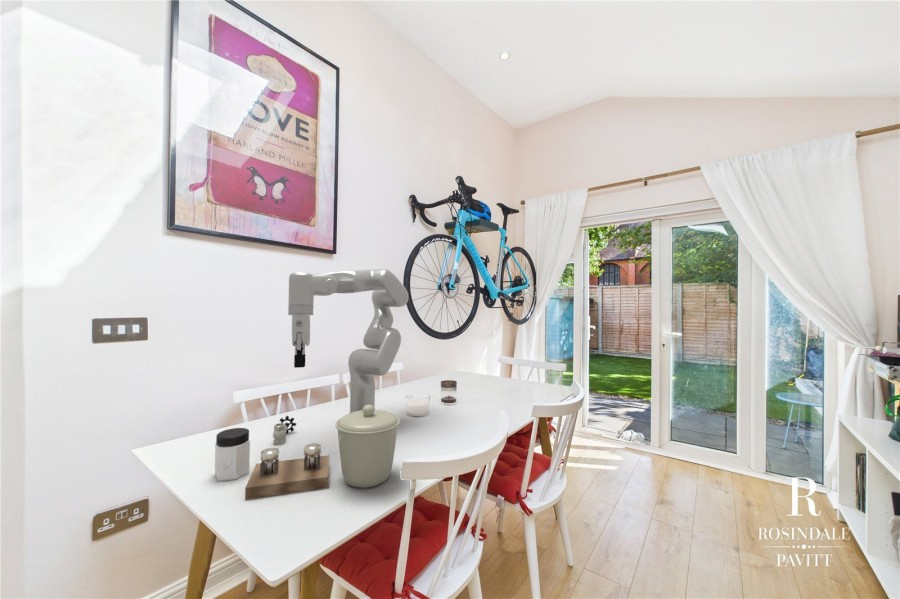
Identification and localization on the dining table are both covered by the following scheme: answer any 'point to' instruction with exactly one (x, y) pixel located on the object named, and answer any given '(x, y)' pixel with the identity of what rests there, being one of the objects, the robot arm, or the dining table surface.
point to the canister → (367, 446)
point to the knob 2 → (312, 454)
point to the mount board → (288, 477)
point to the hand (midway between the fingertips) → (299, 366)
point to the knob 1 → (269, 458)
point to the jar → (232, 454)
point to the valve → (282, 430)
